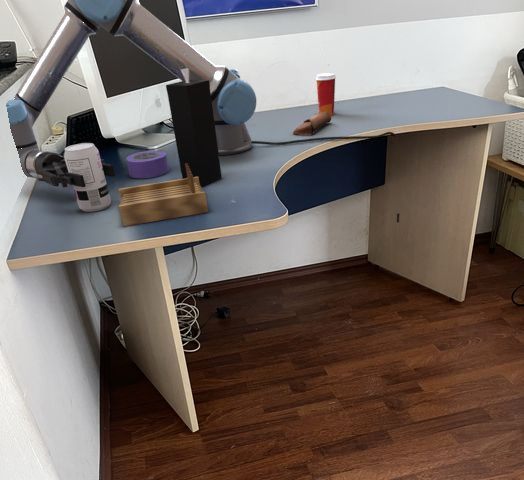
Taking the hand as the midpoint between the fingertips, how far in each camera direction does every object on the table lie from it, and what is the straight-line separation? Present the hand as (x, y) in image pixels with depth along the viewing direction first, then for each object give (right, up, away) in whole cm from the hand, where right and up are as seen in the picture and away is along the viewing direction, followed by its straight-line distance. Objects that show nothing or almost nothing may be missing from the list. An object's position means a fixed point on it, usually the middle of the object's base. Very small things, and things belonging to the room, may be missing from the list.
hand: (98, 176), depth 128 cm
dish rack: (+16, -8, +1) cm, 18 cm away
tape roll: (+6, +11, +30) cm, 32 cm away
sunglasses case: (+58, +36, +58) cm, 90 cm away
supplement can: (-3, -6, +8) cm, 10 cm away
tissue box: (+24, +4, +18) cm, 30 cm away
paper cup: (+65, +49, +76) cm, 111 cm away
